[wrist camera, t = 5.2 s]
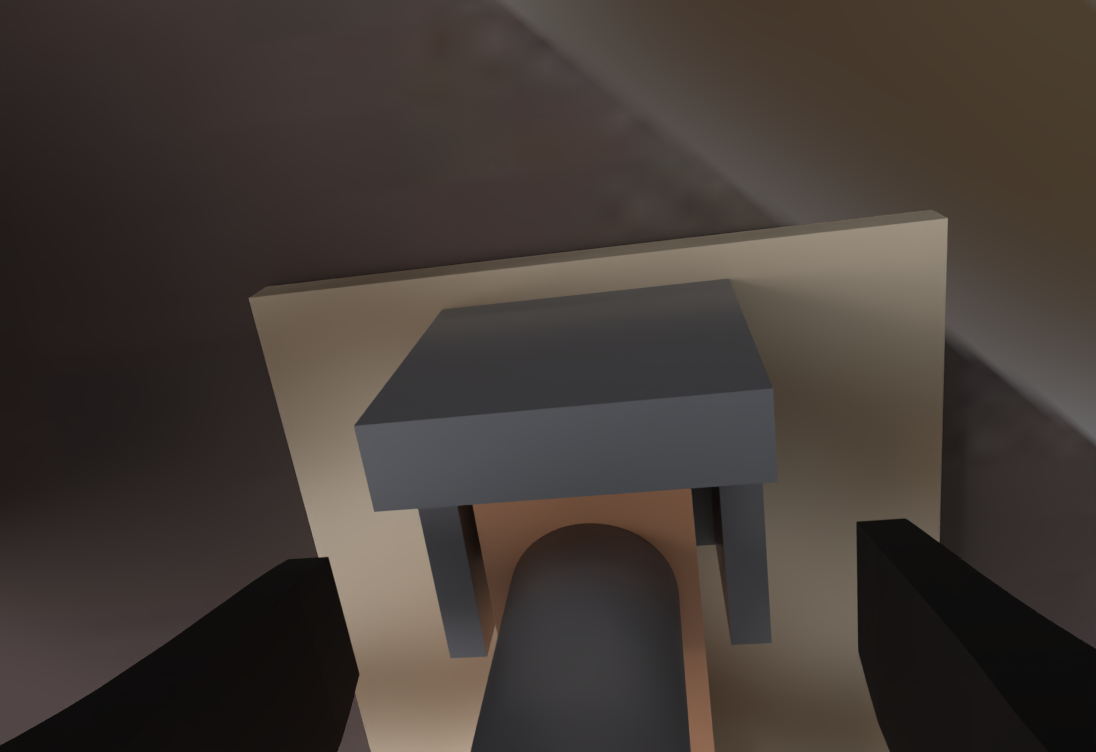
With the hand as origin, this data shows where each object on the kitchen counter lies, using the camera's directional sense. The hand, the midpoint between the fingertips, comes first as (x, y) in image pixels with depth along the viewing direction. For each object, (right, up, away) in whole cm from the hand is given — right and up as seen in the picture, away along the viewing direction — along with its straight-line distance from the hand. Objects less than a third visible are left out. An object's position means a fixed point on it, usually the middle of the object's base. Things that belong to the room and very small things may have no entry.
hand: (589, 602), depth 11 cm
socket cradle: (0, +2, +4) cm, 5 cm away
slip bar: (+1, -2, +6) cm, 6 cm away
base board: (+1, -3, +7) cm, 8 cm away
